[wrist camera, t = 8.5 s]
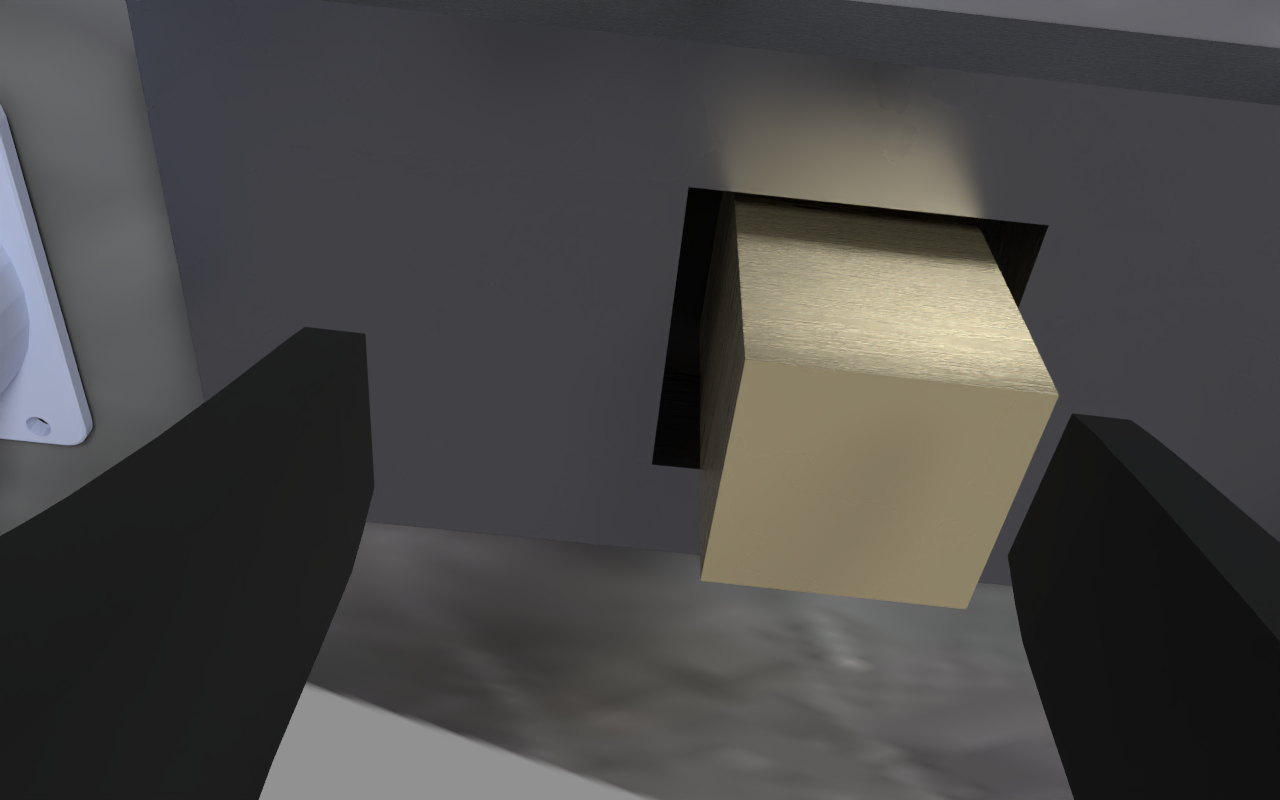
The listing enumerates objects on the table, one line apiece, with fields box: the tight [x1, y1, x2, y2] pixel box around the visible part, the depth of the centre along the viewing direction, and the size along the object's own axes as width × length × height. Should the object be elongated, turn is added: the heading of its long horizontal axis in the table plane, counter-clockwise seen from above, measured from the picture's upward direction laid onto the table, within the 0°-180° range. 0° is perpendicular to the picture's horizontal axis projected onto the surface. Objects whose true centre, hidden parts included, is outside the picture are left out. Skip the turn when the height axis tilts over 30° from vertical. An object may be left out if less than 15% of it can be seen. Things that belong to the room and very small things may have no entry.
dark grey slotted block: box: [126, 0, 1280, 586], centre depth 19 cm, size 22×10×3 cm, turn 85°
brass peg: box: [700, 191, 1059, 609], centre depth 17 cm, size 4×4×7 cm
